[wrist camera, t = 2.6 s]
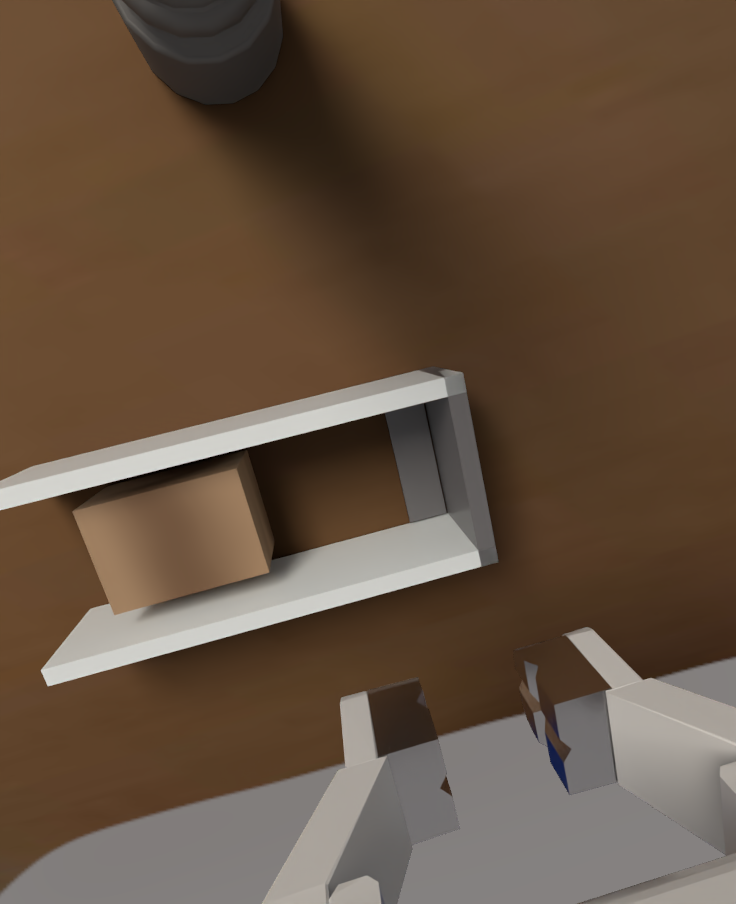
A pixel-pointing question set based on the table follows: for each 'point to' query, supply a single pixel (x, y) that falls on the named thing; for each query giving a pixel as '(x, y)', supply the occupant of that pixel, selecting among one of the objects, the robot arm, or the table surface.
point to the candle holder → (207, 44)
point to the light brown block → (177, 532)
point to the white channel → (306, 573)
